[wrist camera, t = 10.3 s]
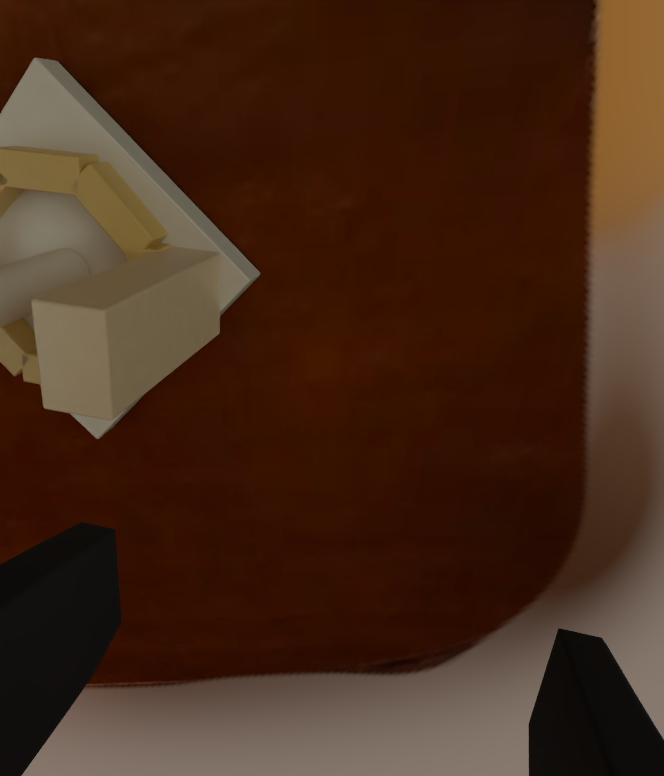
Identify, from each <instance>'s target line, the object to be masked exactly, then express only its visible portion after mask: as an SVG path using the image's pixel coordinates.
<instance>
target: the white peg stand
mask: <svg viewBox="0 0 664 776" xmlns="http://www.w3.org/2000/svg"><path fill="white" fill-rule="evenodd" d="M6 146H23V147H32V148H41V149H50V150H59V151H68V152H77V153H86V154H95V155H98V160H99V163H100V162H108V163H109V164H110V165H111V166H112V167H113V168H114V169H115V171H116V172H117V173H118V174H119V175H120V177H121V178H122V179H123V180H124V181H125V182H126V184H127V185H128V186H129V187H130V188H131V190H132V191H133V192H134V193H135V194H136V196H137V197H138V198H139V199H140V200H141V201H142V203H143V204H144V205H145V206H146V207H147V209H148V210H149V211H150V212H151V213H152V215H153V216H154V217H155V218H156V219H157V220H158V222H159V223H160V224H161V225H162V226H163V228H164V229H165V230H166V231H167V233H168V235H167V237H166V238H165V239H164V240H163V241H162V242H161V243H165V244H170V245H172V246H175V247H183V248H190V249H198V250H205V251H213V252H219V253H220V316H221V315H222V314H223V313H224V312H225V311H226V310H227V309H228V307H229V306H230V305H231V304H232V303H233V302H234V301H235V300H236V299H237V298H238V297H239V296H240V295H241V294H242V293H243V292H244V291H245V290H246V289H247V288H248V287H249V286H250V285H251V284H252V283H253V282H254V281H255V280H256V279H257V277H258V276H259V275H260V272H259V271H258V270H257V269H256V268H255V267H254V266H253V265H252V264H251V263H250V262H249V261H248V259H247V258H246V257H245V256H244V255H243V254H242V253H241V252H240V251H239V250H238V249H237V248H236V247H235V246H234V245H233V244H232V243H231V242H230V241H229V240H228V239H227V238H226V237H225V235H224V234H223V233H222V232H221V231H220V230H219V229H218V228H217V227H216V226H215V225H214V224H213V223H212V222H211V221H210V220H209V219H208V218H207V217H206V216H205V215H204V214H203V213H202V212H201V210H200V209H199V208H198V207H197V206H196V205H195V204H194V203H193V202H192V201H191V200H190V199H189V198H188V197H187V196H186V195H185V194H184V193H183V192H182V191H181V190H180V189H179V188H178V186H177V185H176V184H175V183H174V182H173V181H172V180H171V179H170V178H169V177H168V176H167V175H166V174H165V173H164V172H163V171H162V170H161V169H160V168H159V167H158V166H157V165H156V164H155V163H154V161H153V160H152V159H151V158H150V157H149V156H148V155H147V154H146V153H145V152H144V151H143V150H142V149H141V148H140V147H139V146H138V145H137V144H136V143H135V142H134V141H133V140H132V139H131V137H130V136H129V135H128V134H127V133H126V132H125V131H124V130H123V129H122V128H121V127H120V126H119V125H118V124H117V123H116V122H115V121H114V120H113V119H112V118H111V117H110V116H109V115H108V113H107V112H106V111H105V110H104V109H103V108H102V107H101V106H100V105H99V104H98V103H97V102H96V101H95V100H94V99H93V98H92V97H91V96H90V95H89V94H88V93H87V92H86V91H85V90H84V88H83V87H82V86H81V85H80V84H79V83H78V82H77V81H76V80H75V79H74V78H73V77H72V76H71V75H70V74H69V73H68V72H67V71H66V70H65V69H64V68H63V67H62V66H61V64H60V63H59V62H58V61H55V60H48V59H41V58H34V59H33V61H32V62H31V64H30V66H29V67H28V69H27V71H26V72H25V74H24V75H23V77H22V79H21V80H20V82H19V84H18V85H17V87H16V89H15V90H14V92H13V94H12V95H11V97H10V98H9V100H8V102H7V103H6V105H5V107H4V108H3V110H2V112H1V113H0V147H6ZM123 263H126V261H125V254H124V253H123V252H122V251H121V249H120V248H119V247H118V246H117V245H116V244H115V242H114V241H113V240H112V239H111V238H110V237H109V236H108V234H107V233H106V232H105V231H104V230H103V229H102V227H101V226H100V225H99V224H98V223H97V222H96V220H95V219H94V218H93V217H92V216H91V215H90V214H89V212H88V211H87V210H86V209H85V208H84V207H83V205H82V204H81V203H80V202H79V201H78V200H77V198H76V197H75V196H74V195H66V194H58V193H50V192H42V191H34V190H26V189H24V190H23V191H22V192H21V194H20V195H19V196H18V197H17V198H16V200H15V201H14V202H13V203H12V204H11V205H10V207H9V208H8V209H7V210H6V211H5V213H4V214H3V215H2V216H1V217H0V327H2V326H5V325H7V324H10V323H12V322H14V321H17V320H19V319H21V318H23V319H24V320H25V321H26V322H27V323H28V324H29V325H30V326H31V327H32V328H33V330H34V324H33V316H32V307H31V300H32V299H34V298H37V297H39V296H42V295H44V294H47V293H49V292H52V291H54V290H57V289H59V288H62V287H65V286H67V285H70V284H72V283H75V282H77V281H80V280H82V279H85V278H88V277H90V276H93V275H95V274H98V273H100V272H103V271H105V270H108V269H110V268H113V267H116V266H118V265H121V264H123ZM39 385H40V386H41V384H39ZM141 398H142V397H140V398H139V399H138V400H137V401H135V402H134V403H133V404H132V405H130V406H129V407H128V408H127V409H125V410H124V411H123V412H122V413H120V414H119V415H118V416H117V417H116V418H114V419H113V420H104V419H98V418H93V417H87V416H82V415H77V414H71V413H70V414H71V415H72V416H73V417H74V418H75V419H76V420H77V421H78V422H80V423H81V424H82V425H83V426H84V427H85V428H86V429H87V430H88V431H89V432H90V433H91V434H92V435H93V436H94V437H95V438H97V439H99V438H100V437H101V436H103V435H104V434H105V433H106V432H108V431H109V430H110V429H111V428H112V427H113V426H114V425H115V424H116V423H117V422H118V421H119V420H120V419H121V418H122V417H123V416H124V415H125V414H126V413H127V412H128V411H129V410H130V409H131V408H132V407H133V406H134V405H135V404H136V403H137V402H138V401H139V400H140V399H141Z"/></svg>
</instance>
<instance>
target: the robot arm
mask: <svg viewBox="0 0 664 776" xmlns="http://www.w3.org/2000/svg"><path fill="white" fill-rule="evenodd" d="M120 624H121V612H120V597H119V583H118V568H117V553H116V538H115V530H114V529H110V528H105V527H101V526H96V525H92V524H87V523H83V522H82V523H80V524H78V525H76V526H73V527H71V528H69V529H67V530H65V531H63V532H61V533H59V534H57V535H55V536H54V537H52V538H50V539H48V540H46V541H44V542H42V543H40V544H38V545H36V546H35V547H33V548H31V549H29V550H27V551H25V552H23V553H21V554H20V555H18V556H16V557H14V558H12V559H10V560H8V561H6V562H5V563H3V564H1V565H0V776H21V775H22V774H23V773H24V771H25V770H26V769H27V767H28V765H29V764H30V763H31V762H32V760H33V759H34V757H35V756H36V755H37V753H38V752H39V750H40V749H41V748H42V746H43V745H44V744H45V742H46V741H47V739H48V738H49V737H50V735H51V734H52V732H53V731H54V729H55V728H56V726H57V725H58V724H59V723H60V721H61V720H62V718H63V717H64V716H65V714H66V713H67V711H68V710H69V709H70V707H71V705H72V704H73V703H74V702H75V700H76V699H77V697H78V696H79V694H80V693H81V692H82V690H83V689H84V687H85V686H86V684H87V683H88V681H89V680H90V678H91V677H92V675H93V673H94V671H95V670H96V668H97V666H98V664H99V663H100V661H101V659H102V657H103V656H104V654H105V652H106V650H107V648H108V646H109V644H110V643H111V641H112V639H113V637H114V635H115V633H116V631H117V629H118V628H119V626H120ZM529 776H664V740H663V738H662V736H661V735H660V733H659V732H658V730H657V728H656V727H655V725H654V724H653V722H652V720H651V719H650V717H649V715H648V714H647V712H646V711H645V709H644V707H643V705H642V704H641V702H640V701H639V699H638V697H637V696H636V694H635V692H634V690H633V689H632V687H631V685H630V684H629V682H628V680H627V679H626V677H625V675H624V674H623V672H622V670H621V669H620V667H619V665H618V663H617V662H616V660H615V658H614V657H613V655H612V653H611V652H610V650H609V648H608V646H607V645H606V643H605V642H604V641H603V639H602V638H600V637H595V636H591V635H586V634H582V633H577V632H573V631H568V630H564V629H558V632H557V635H556V639H555V642H554V645H553V648H552V651H551V654H550V658H549V661H548V664H547V667H546V670H545V674H544V677H543V680H542V683H541V686H540V690H539V693H538V696H537V699H536V702H535V706H534V709H533V712H532V715H531V719H530V722H529Z"/></svg>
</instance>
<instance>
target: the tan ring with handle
mask: <svg viewBox="0 0 664 776" xmlns="http://www.w3.org/2000/svg"><path fill="white" fill-rule="evenodd" d="M24 189H26V190H34V191H42V192H50V193H58V194H66V195H74V196H75V197H76V198H77V200H78V201H79V202H80V203H81V204H82V205H83V207H84V208H85V209H86V210H87V211H88V212H89V214H90V215H91V216H92V217H93V218H94V219H95V220H96V222H97V223H98V224H99V225H100V226H101V227H102V229H103V230H104V231H105V232H106V233H107V234H108V236H109V237H110V238H111V239H112V240H113V241H114V242H115V244H116V245H117V246H118V247H119V248H120V249H121V251H122V252H123V253H124V254H125V261H126V263H123V264H121V265H118V266H116V267H113V268H110V269H108V270H105V271H103V272H100V273H98V274H95V275H93V276H90V277H88V278H85V279H82V280H80V281H77V282H75V283H72V284H70V285H67V286H65V287H62V288H59V289H57V290H54V291H52V292H49V293H47V294H44V295H42V296H39V297H37V298H34V299H32V300H31V307H32V316H33V324H34V330H33V328H32V327H31V326H30V325H29V324H28V323H27V322H26V321H25V320H24V319H23V318H21V319H19V320H17V321H14V322H12V323H10V324H7V325H5V326H2V327H0V362H1V363H2V364H3V365H4V366H5V367H6V368H7V369H8V370H9V371H10V372H11V374H12V375H13V376H17V375H19V374H21V373H23V380H24V381H25V382H30V383H36V384H41V392H42V401H43V407H44V408H45V409H50V410H55V411H60V412H66V413H71V414H77V415H82V416H87V417H93V418H98V419H104V420H113V419H114V418H116V417H117V416H118V415H119V414H120V413H122V412H123V411H124V410H125V409H127V408H128V407H129V406H130V405H132V404H133V403H134V402H135V401H137V400H138V399H139V398H140V397H142V396H143V395H144V394H145V393H146V392H148V391H149V390H150V389H151V388H153V387H154V386H155V385H156V384H158V383H159V382H160V381H161V380H163V379H164V378H165V377H166V376H167V375H169V374H170V373H171V372H172V371H174V370H175V369H176V368H177V367H179V366H180V365H181V364H182V363H184V362H185V361H186V360H187V359H188V358H190V357H191V356H192V355H193V354H195V353H196V352H197V351H198V350H200V349H201V348H202V347H203V346H205V345H206V344H207V343H208V342H210V341H211V340H212V339H213V338H214V337H216V336H217V335H218V334H219V333H220V253H219V252H213V251H205V250H198V249H190V248H183V247H175V246H172V245H170V244H165V243H161V242H162V241H163V240H164V239H165V238H166V237H167V235H168V233H167V231H166V230H165V229H164V228H163V226H162V225H161V224H160V223H159V222H158V220H157V219H156V218H155V217H154V216H153V215H152V213H151V212H150V211H149V210H148V209H147V207H146V206H145V205H144V204H143V203H142V201H141V200H140V199H139V198H138V197H137V196H136V194H135V193H134V192H133V191H132V190H131V188H130V187H129V186H128V185H127V184H126V182H125V181H124V180H123V179H122V178H121V177H120V175H119V174H118V173H117V172H116V171H115V169H114V168H113V167H112V166H111V165H110V164H109V163H108V162H100V163H99V160H98V155H95V154H86V153H77V152H68V151H59V150H50V149H41V148H32V147H23V146H6V147H0V217H1V216H2V215H3V214H4V213H5V211H6V210H7V209H8V208H9V207H10V205H11V204H12V203H13V202H14V201H15V200H16V198H17V197H18V196H19V195H20V194H21V192H22V191H23V190H24Z"/></svg>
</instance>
